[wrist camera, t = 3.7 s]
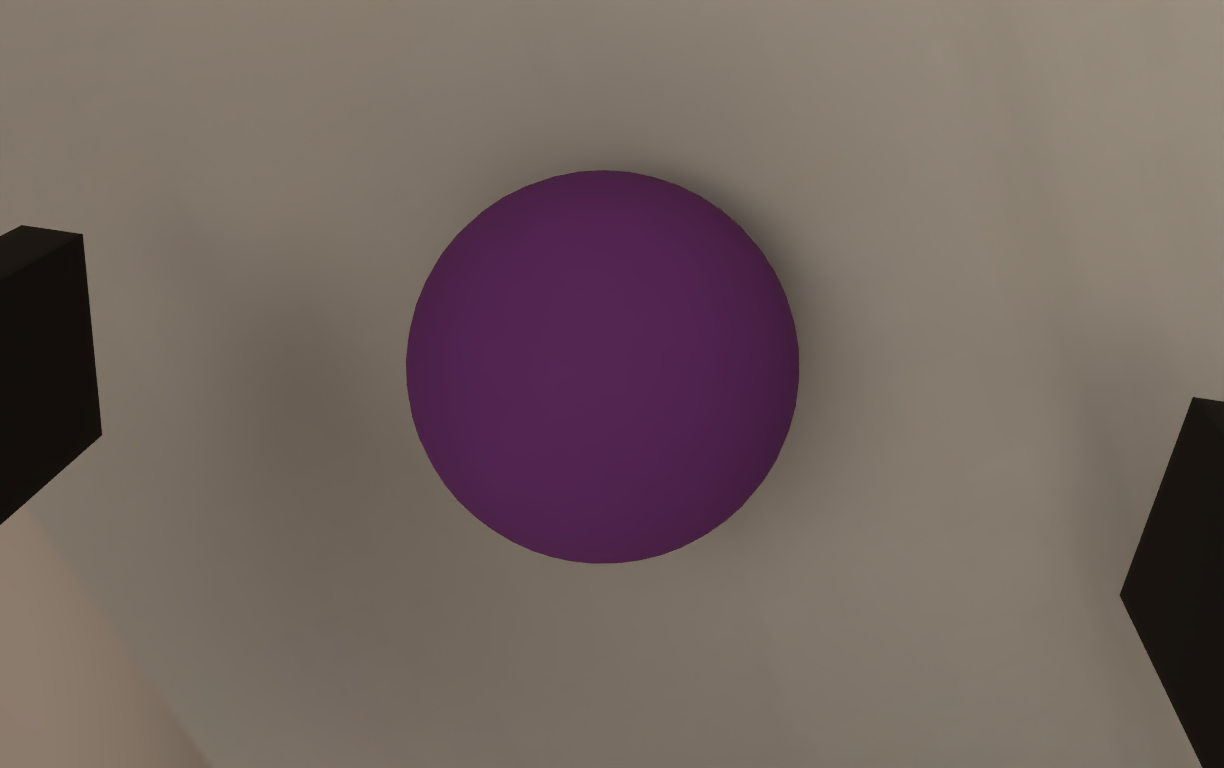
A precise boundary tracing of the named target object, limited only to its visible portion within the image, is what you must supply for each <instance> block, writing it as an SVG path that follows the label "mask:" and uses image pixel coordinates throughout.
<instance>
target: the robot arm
mask: <svg viewBox="0 0 1224 768" xmlns="http://www.w3.org/2000/svg"><path fill="white" fill-rule="evenodd" d="M101 435H102V428H101V418H100V408H99V397H98V387H97V377H96V367H95V356H94V346H93V336H92V325H91V315H90V305H89V295H88V284H87V274H86V264H85V253H84V243H83V234H78V233H71V232H64V231H57V230H51V229H44V228H37V227H30V226H23V225H21V226H19V227H17V228H15V229H13V230H11V231H9V232H8V233H6V234H4V235H2V236H0V525H1V524H2V523H3V522H4V521H5V520H6V519H7V518H9V517H10V516H11V515H12V514H13V513H14V512H15V511H17V510H18V509H19V508H20V507H21V506H22V505H23V504H25V503H26V502H27V501H28V500H29V499H30V498H31V497H33V496H34V495H35V494H36V493H37V492H38V491H39V490H40V489H42V488H43V487H44V486H45V485H46V484H47V483H48V482H49V481H51V480H52V479H53V478H54V477H55V476H56V475H57V474H58V473H60V472H61V471H62V470H63V469H64V468H65V467H66V466H68V465H69V464H70V463H71V462H72V461H73V460H74V459H75V458H77V457H78V456H79V455H80V454H81V453H82V452H83V451H84V450H86V449H87V448H88V447H89V446H90V445H91V444H92V443H94V442H95V441H96V440H97V439H98V438H99V437H100V436H101ZM1120 597H1121V599H1122V601H1123V603H1124V605H1125V608H1126V610H1127V612H1128V614H1129V616H1130V618H1131V620H1132V622H1133V624H1134V626H1135V628H1136V630H1137V632H1138V635H1139V637H1140V639H1141V641H1142V643H1143V645H1144V647H1145V649H1146V651H1147V653H1148V655H1149V657H1150V660H1151V662H1152V664H1153V666H1154V668H1155V670H1156V672H1157V674H1158V676H1159V678H1160V680H1161V682H1162V685H1163V687H1164V689H1165V691H1166V693H1167V695H1168V697H1169V699H1170V701H1171V703H1172V705H1173V707H1174V709H1175V712H1176V714H1177V716H1178V718H1179V720H1180V722H1181V724H1182V726H1183V728H1184V730H1185V732H1186V734H1187V737H1188V739H1189V741H1190V743H1191V745H1192V747H1193V749H1194V751H1195V753H1196V755H1197V757H1198V759H1199V761H1200V764H1201V766H1202V768H1224V402H1222V401H1215V400H1209V399H1202V398H1195V397H1193V398H1192V401H1191V404H1190V406H1189V409H1188V412H1187V414H1186V417H1185V420H1184V422H1183V425H1182V428H1181V431H1180V433H1179V436H1178V439H1177V441H1176V444H1175V447H1174V450H1173V452H1172V455H1171V458H1170V460H1169V463H1168V466H1167V468H1166V471H1165V474H1164V477H1163V479H1162V482H1161V485H1160V487H1159V490H1158V493H1157V496H1156V498H1155V501H1154V504H1153V506H1152V509H1151V512H1150V514H1149V517H1148V520H1147V523H1146V525H1145V528H1144V531H1143V533H1142V536H1141V539H1140V542H1139V544H1138V547H1137V550H1136V552H1135V555H1134V558H1133V560H1132V563H1131V566H1130V569H1129V571H1128V574H1127V577H1126V579H1125V582H1124V585H1123V588H1122V590H1121V593H1120Z"/></svg>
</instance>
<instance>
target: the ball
mask: <svg viewBox="0 0 1224 768" xmlns="http://www.w3.org/2000/svg"><path fill="white" fill-rule="evenodd" d="M406 374H407V388H408V395H409V401H410V407H411V412H412V417H413V420H414V423H415V427H416V430H417V433H418V436H419V439H420V441H421V443H422V445H423V447H424V449H425V451H426V453H427V455H428V458H429V460H430V461H431V463H432V465H433V467H434V469H435V470H436V472H437V473H438V475H439V476H440V478H441V479H442V481H443V483H444V484H445V485H446V487H447V488H448V489H449V490H450V491H451V493H452V494H453V495H454V496H455V497H456V499H457V500H458V501H459V502H460V503H461V504H462V505H463V506H464V507H465V508H466V509H467V510H468V511H470V512H471V513H472V514H473V515H474V516H475V517H476V518H478V519H479V520H480V521H482V522H483V523H484V524H486V525H487V526H488V527H489V528H491V529H492V530H494V531H495V532H497V533H499V534H500V535H502V536H504V537H505V538H507V539H509V540H510V541H512V542H514V543H516V544H518V545H521V546H523V547H525V548H527V549H530V550H532V551H535V552H538V553H541V554H544V555H547V556H550V557H554V558H558V559H563V560H568V561H573V562H583V563H622V562H630V561H638V560H643V559H647V558H651V557H655V556H660V555H663V554H665V553H668V552H671V551H673V550H676V549H679V548H681V547H683V546H685V545H687V544H689V543H691V542H693V541H695V540H697V539H699V538H701V537H702V536H704V535H706V534H707V533H709V532H710V531H712V530H713V529H715V528H716V527H717V526H719V525H720V524H722V523H723V522H725V521H726V520H727V519H728V518H729V517H730V516H732V515H733V514H734V513H735V512H736V511H737V510H738V509H739V508H740V507H741V506H743V504H744V503H745V502H746V501H747V500H748V498H749V497H750V496H751V495H752V494H753V493H754V491H755V490H756V489H757V488H758V486H759V485H760V484H761V483H762V482H763V480H764V479H765V477H766V476H767V474H768V472H769V471H770V469H771V468H772V466H773V464H774V463H775V461H776V459H777V457H778V455H779V452H780V450H781V448H782V446H783V443H784V441H785V439H786V436H787V434H788V431H789V428H790V425H791V421H792V418H793V414H794V410H795V407H796V399H797V391H798V382H799V348H798V342H797V336H796V330H795V324H794V321H793V317H792V314H791V311H790V308H789V304H788V301H787V298H786V295H785V292H784V290H783V288H782V286H781V284H780V282H779V280H778V278H777V275H776V273H775V271H774V270H773V268H772V267H771V265H770V264H769V262H768V261H767V259H766V258H765V256H764V255H763V253H762V252H761V250H760V249H759V248H758V246H757V245H756V244H755V243H754V242H753V241H752V240H751V238H750V237H749V236H748V235H747V234H746V233H745V232H744V230H743V229H742V228H741V227H740V226H739V225H738V224H737V223H735V222H734V221H733V220H732V219H731V218H730V217H729V216H727V215H726V214H725V213H724V212H723V211H722V210H720V209H719V208H717V207H716V206H714V205H713V204H711V203H710V202H708V201H707V200H705V199H704V198H702V197H701V196H699V195H697V194H695V193H693V192H690V191H688V190H686V189H684V188H682V187H680V186H678V185H675V184H672V183H670V182H667V181H664V180H661V179H658V178H655V177H650V176H646V175H641V174H636V173H631V172H620V171H606V170H602V171H585V172H576V173H571V174H565V175H560V176H555V177H552V178H549V179H546V180H543V181H540V182H537V183H534V184H531V185H528V186H525V187H523V188H521V189H519V190H517V191H515V192H513V193H511V194H509V195H507V196H505V197H503V198H502V199H500V200H499V201H497V202H496V203H494V204H493V205H491V206H490V207H488V208H487V209H485V210H484V211H483V212H481V213H480V214H479V215H478V216H477V217H476V218H475V219H474V220H473V221H472V222H471V223H469V224H468V225H467V226H466V227H465V228H464V229H463V230H462V231H461V232H460V233H459V234H458V235H457V236H456V237H455V238H454V240H453V241H452V242H451V243H450V244H449V246H448V247H447V248H446V249H445V250H444V252H443V253H442V255H441V256H440V258H439V260H438V261H437V263H436V265H435V266H434V268H433V270H432V271H431V273H430V275H429V277H428V279H427V280H426V282H425V285H424V287H423V289H422V292H421V294H420V297H419V299H418V301H417V304H416V307H415V311H414V315H413V319H412V323H411V327H410V332H409V338H408V347H407V357H406Z"/></svg>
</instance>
